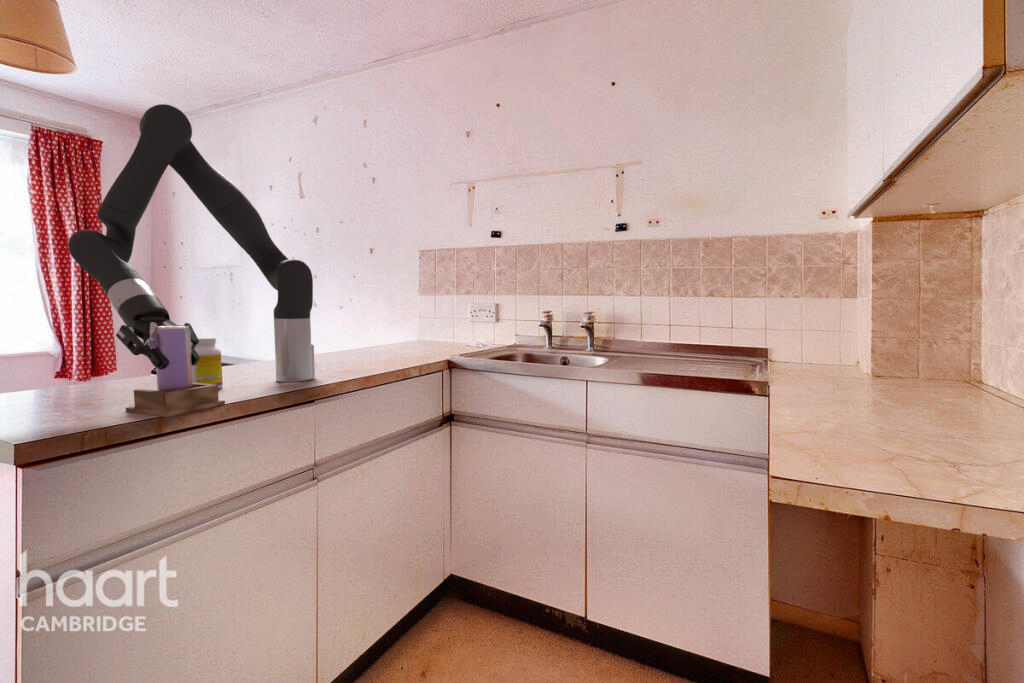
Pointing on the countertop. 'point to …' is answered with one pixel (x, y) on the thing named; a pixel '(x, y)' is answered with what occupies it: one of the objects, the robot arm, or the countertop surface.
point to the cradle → (175, 400)
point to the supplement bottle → (208, 363)
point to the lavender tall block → (174, 358)
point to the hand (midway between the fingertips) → (180, 364)
